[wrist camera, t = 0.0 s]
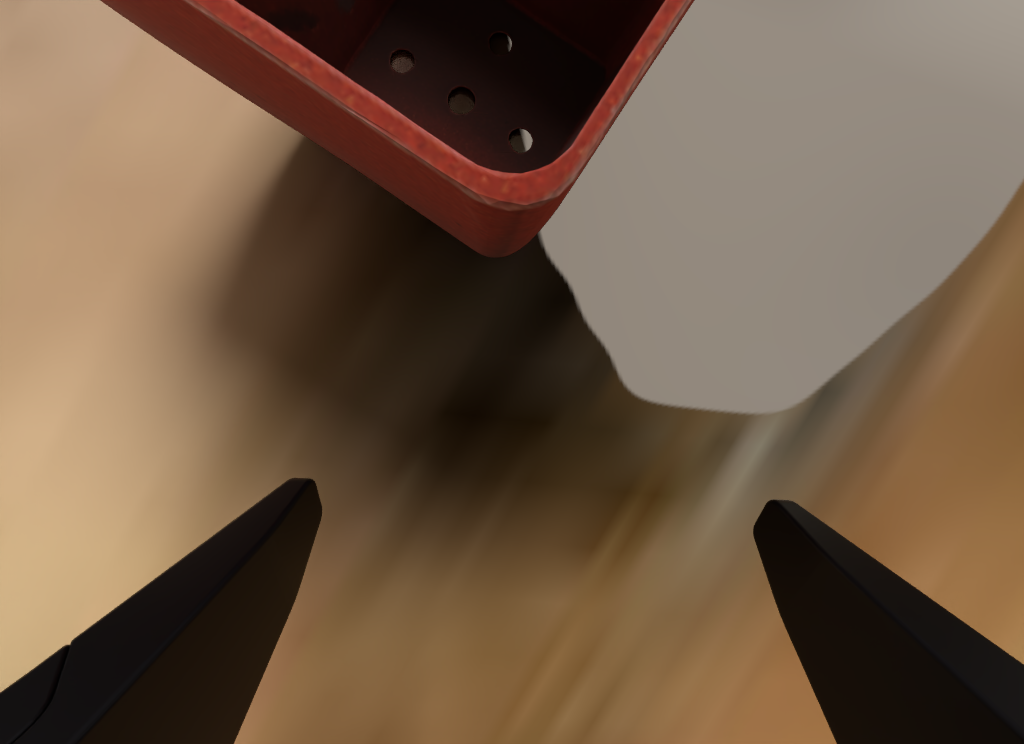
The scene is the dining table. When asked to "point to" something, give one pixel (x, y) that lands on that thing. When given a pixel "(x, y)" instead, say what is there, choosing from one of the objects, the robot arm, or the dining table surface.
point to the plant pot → (433, 90)
